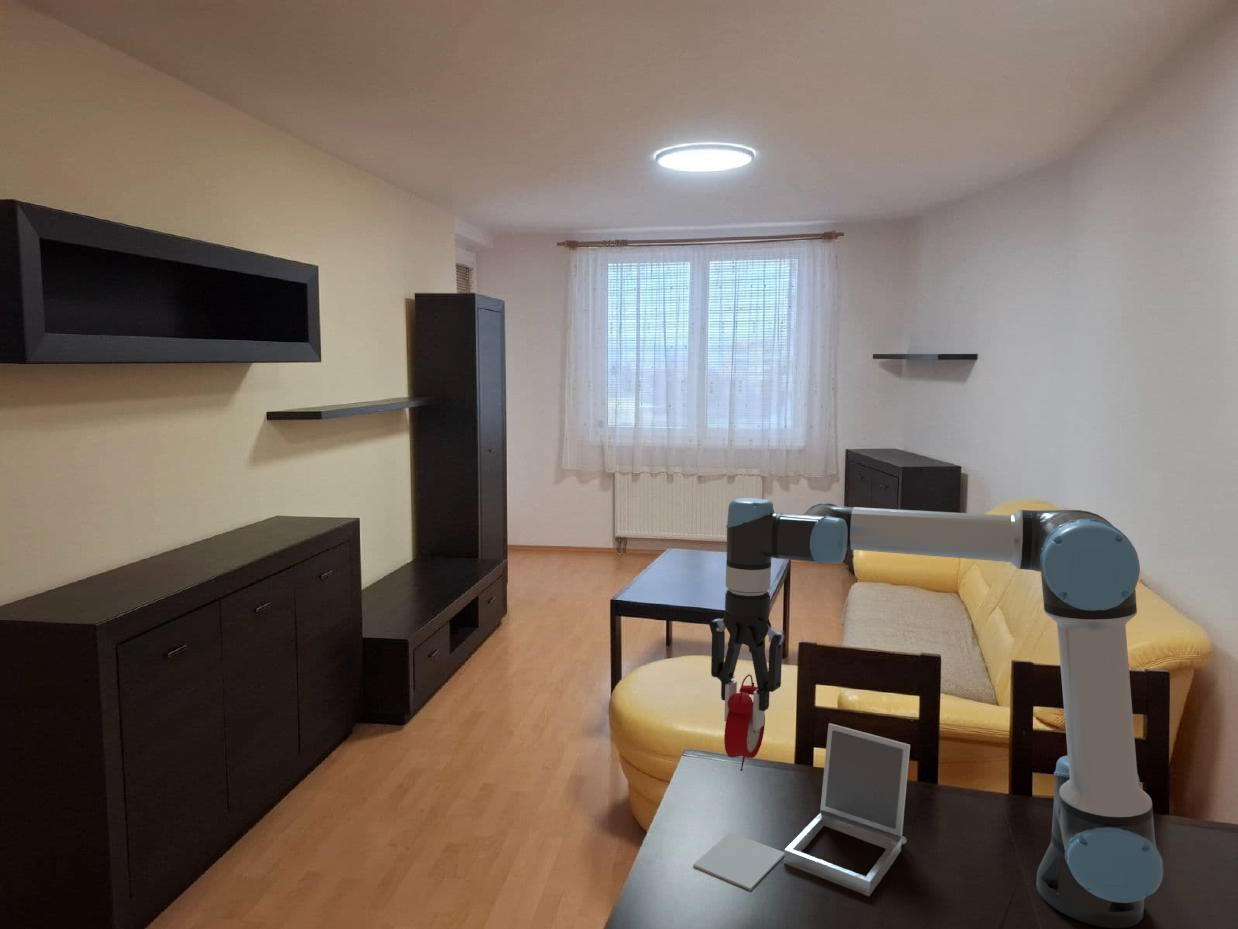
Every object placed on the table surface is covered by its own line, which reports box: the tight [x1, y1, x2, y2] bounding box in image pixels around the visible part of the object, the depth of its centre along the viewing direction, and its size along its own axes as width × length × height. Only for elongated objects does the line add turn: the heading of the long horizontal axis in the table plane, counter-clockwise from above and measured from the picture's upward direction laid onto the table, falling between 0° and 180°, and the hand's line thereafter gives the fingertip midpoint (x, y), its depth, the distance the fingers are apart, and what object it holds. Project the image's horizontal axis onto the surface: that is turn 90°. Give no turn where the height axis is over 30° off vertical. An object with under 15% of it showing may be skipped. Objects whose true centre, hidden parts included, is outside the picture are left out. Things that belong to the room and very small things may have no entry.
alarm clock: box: [723, 673, 766, 772], centre depth 140 cm, size 10×6×15 cm, turn 151°
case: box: [783, 809, 902, 897], centre depth 143 cm, size 15×16×3 cm
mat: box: [692, 831, 784, 892], centre depth 141 cm, size 11×13×1 cm
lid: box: [820, 722, 911, 836], centre depth 149 cm, size 15×16×1 cm
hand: (744, 723), depth 139 cm, fingers closed on alarm clock, 5 cm apart
